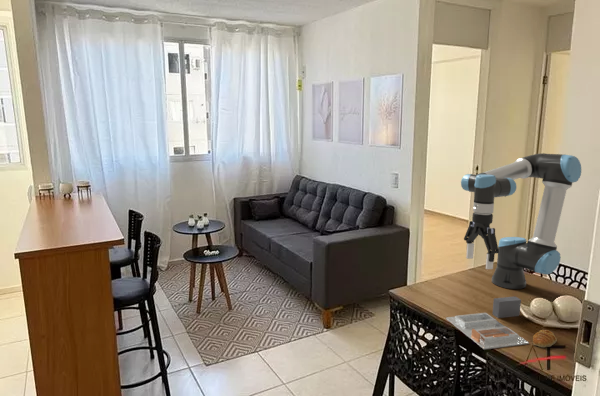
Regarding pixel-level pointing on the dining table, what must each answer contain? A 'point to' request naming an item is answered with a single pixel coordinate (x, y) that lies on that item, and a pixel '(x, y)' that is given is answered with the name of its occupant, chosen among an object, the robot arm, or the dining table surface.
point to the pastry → (544, 338)
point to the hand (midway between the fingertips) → (479, 263)
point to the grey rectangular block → (506, 307)
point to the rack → (486, 331)
